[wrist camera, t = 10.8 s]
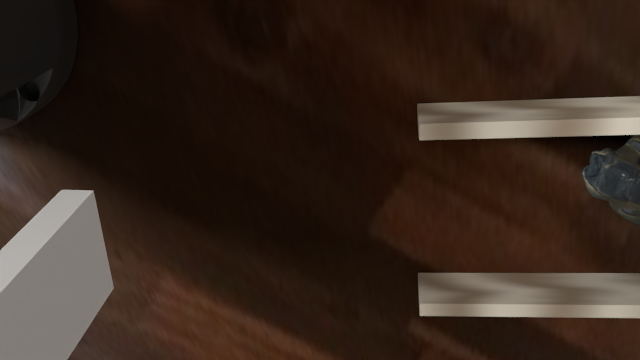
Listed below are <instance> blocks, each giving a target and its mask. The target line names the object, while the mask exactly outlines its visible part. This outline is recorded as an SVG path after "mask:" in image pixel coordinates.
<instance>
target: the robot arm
mask: <svg viewBox="0 0 640 360" xmlns="http://www.w3.org/2000/svg"><path fill="white" fill-rule="evenodd" d="M77 46H78V20H77V13H76V8H75V3H74V0H0V130H3V129H6V128H9V127H12V126H14V125H16V124H19V123H20V122H22V121H24V120H26V119H27V118H29V117H30V116H32V115H33V114H35V113H36V112H38V111H40V110H41V109H42V108H44V107H45V106H47V105H48V104H49V103H50V102H51V101H52V100H53V99H54V98H55V97H56V96H57V95H58V94H59V92H60V91H61V90H62V88H63V87H64V85H65V84H66V82H67V80H68V78H69V76H70V74H71V71H72V68H73V65H74V62H75V58H76V53H77ZM113 288H114V287H113V282H112V277H111V272H110V268H109V263H108V258H107V253H106V248H105V244H104V239H103V234H102V229H101V224H100V220H99V215H98V210H97V205H96V201H95V196H94V191H89V190H61V191H60V192H59V193H58V194H57V195H56V196H55V197H54V198H53V199H52V200H51V201H50V202H49V203H48V204H47V205H46V206H45V207H44V208H43V209H42V210H41V211H40V212H39V213H38V214H37V215H36V216H35V217H34V218H33V219H32V220H31V221H30V222H29V223H28V224H27V225H26V226H24V227H23V228H22V229H21V230H20V231H19V232H18V233H17V234H16V235H15V236H14V237H13V238H12V239H11V240H10V241H9V242H8V243H7V244H6V245H5V246H4V247H3V248H2V249H1V250H0V360H67V359H68V358H69V356H70V355H71V353H72V351H73V350H74V348H75V347H76V345H77V344H78V342H79V341H80V339H81V338H82V336H83V335H84V333H85V331H86V330H87V328H88V327H89V325H90V324H91V322H92V321H93V319H94V318H95V316H96V314H97V313H98V311H99V310H100V308H101V307H102V305H103V304H104V302H105V301H106V299H107V297H108V296H109V294H110V293H111V291H112V290H113Z"/></svg>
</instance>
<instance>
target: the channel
mask: <svg viewBox="0 0 640 360" xmlns="http://www.w3.org/2000/svg"><path fill="white" fill-rule="evenodd" d="M417 121H418V131H419V140H452V139H490V138H529V137H567V136H605V135H640V96H629V97H599V98H569V99H540V100H510V101H480V102H451V103H421V104H417ZM418 294H419V310H420V316H479V317H576V318H640V273H418Z"/></svg>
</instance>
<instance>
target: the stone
mask: <svg viewBox="0 0 640 360" xmlns="http://www.w3.org/2000/svg"><path fill="white" fill-rule="evenodd" d="M582 175H583V179H584V181H585V184H586V188H587V190H588V191H589V193H590V194H591V196H593V197H595V198H597V199H602V200H606V201H608V202H609V204H610V206H611V208H612V209H613V210H614V211H615V212H617V213H618V214H619V215H620V216H622V217H623V218H625V219H626V220H628V221H630V222H632V223H634V224H637V225H639V226H640V135H632V136H631V138H630V139H629V140H628V141H627V142H626V144H625V145H624V146H622V147H621V148H620V149H618V150H616V151H614V150H612V149H610V148H606V149H603V150H602V151H593V152H592V155H591V156H590V165H588V166H586V167H585V168H584V169H583V171H582Z"/></svg>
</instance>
